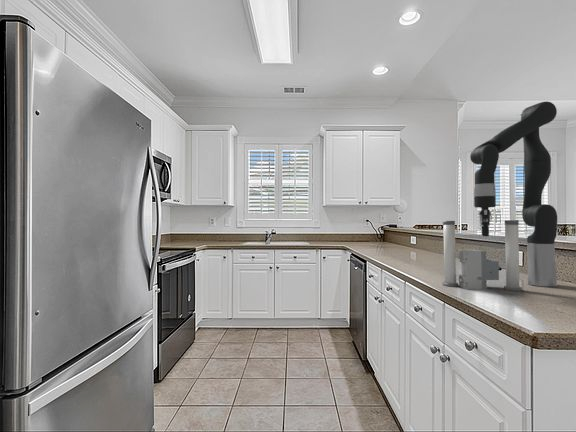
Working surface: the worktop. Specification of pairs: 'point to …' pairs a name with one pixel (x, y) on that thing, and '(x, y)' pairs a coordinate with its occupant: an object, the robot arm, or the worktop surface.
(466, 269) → the circuit breaker
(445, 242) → the post
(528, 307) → the worktop surface
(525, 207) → the robot arm
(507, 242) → the post
